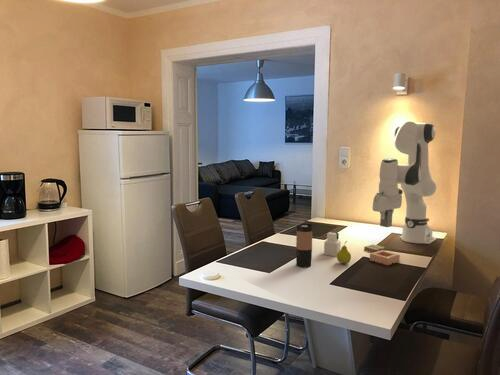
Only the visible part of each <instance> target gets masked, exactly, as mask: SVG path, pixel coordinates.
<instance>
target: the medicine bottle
mask: <svg viewBox="0 0 500 375" xmlns="http://www.w3.org/2000/svg"><path fill="white" fill-rule="evenodd" d="M339 235H340V234H339V232H337V231H328V232H327V233H326V240H325V241H324V243H323V244H324V246H323V255H324V256H330V257H337V253H338V252H339V251H340V250H341V247H342V246H341V244H342V243H341V240H340V239H339Z"/></svg>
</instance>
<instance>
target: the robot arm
mask: <svg viewBox="0 0 500 375" xmlns="http://www.w3.org/2000/svg"><path fill="white" fill-rule="evenodd" d="M436 132H437V131H436V128H435V125H434V124H433V123H429V122H426V123H425V122H424V123H422V122H415V121H414V120H406V121H404V122H403V123H402V124H399V125H397V126H396V127H395V128H394V133H393V135H394V147H395V149H396V150H397V151H399V152H400V153H402V154H403V155H404V154H405V155H408V156H407V157H408V158H407V160H408V161H407V164H399V160H398V159H396V158H383V159H382V160H381V163H380V167H379V168H380V169H379V183H378V191H377V192H376V193H375V195H374V197H373V202H372V211H373V212H379V214H380V218H381V219H386V216H385V214H384V213H385V211H386V210H392V211H393V212H392V215H393V213H394V210H395V209H401V207H402V203H403V202H402V200H403V193H404V196H405V197H404V198H405V202H406V208H405V209H406V211H405V212H406V213H405V214H406V215H405V218H404V224H403V226H402V230H401V231H402V233H401V235H400V236H399V237H400V239H401V240H402V241H403V242H407V243H412V244H428V245H430V244H431V243H433V242H435V241H436V240H437V237H435V236H433V229H432V228H431V227H430V226H429V225H428V222H430V218H428V217H427V204H426V202H425V201H424V197H426V198H427V197H431V196H433V195H434V194H435V192H436V191H437V184H436V182H434V180H433V178H432V175H431V172H430V168H429V143H430V142H432V141H434V139H435V136H436ZM398 184H400V188H399V187H398V186H399V185H398Z"/></svg>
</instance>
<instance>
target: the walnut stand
mask: <svg viewBox="0 0 500 375" xmlns="http://www.w3.org/2000/svg"><path fill="white" fill-rule="evenodd" d="M363 248H364V249H363V251H365V252H369V253H374V252H377V251H380V250H383V251H386V247H384V246H381V245H376V244H370V245H366V246H364V247H363Z"/></svg>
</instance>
